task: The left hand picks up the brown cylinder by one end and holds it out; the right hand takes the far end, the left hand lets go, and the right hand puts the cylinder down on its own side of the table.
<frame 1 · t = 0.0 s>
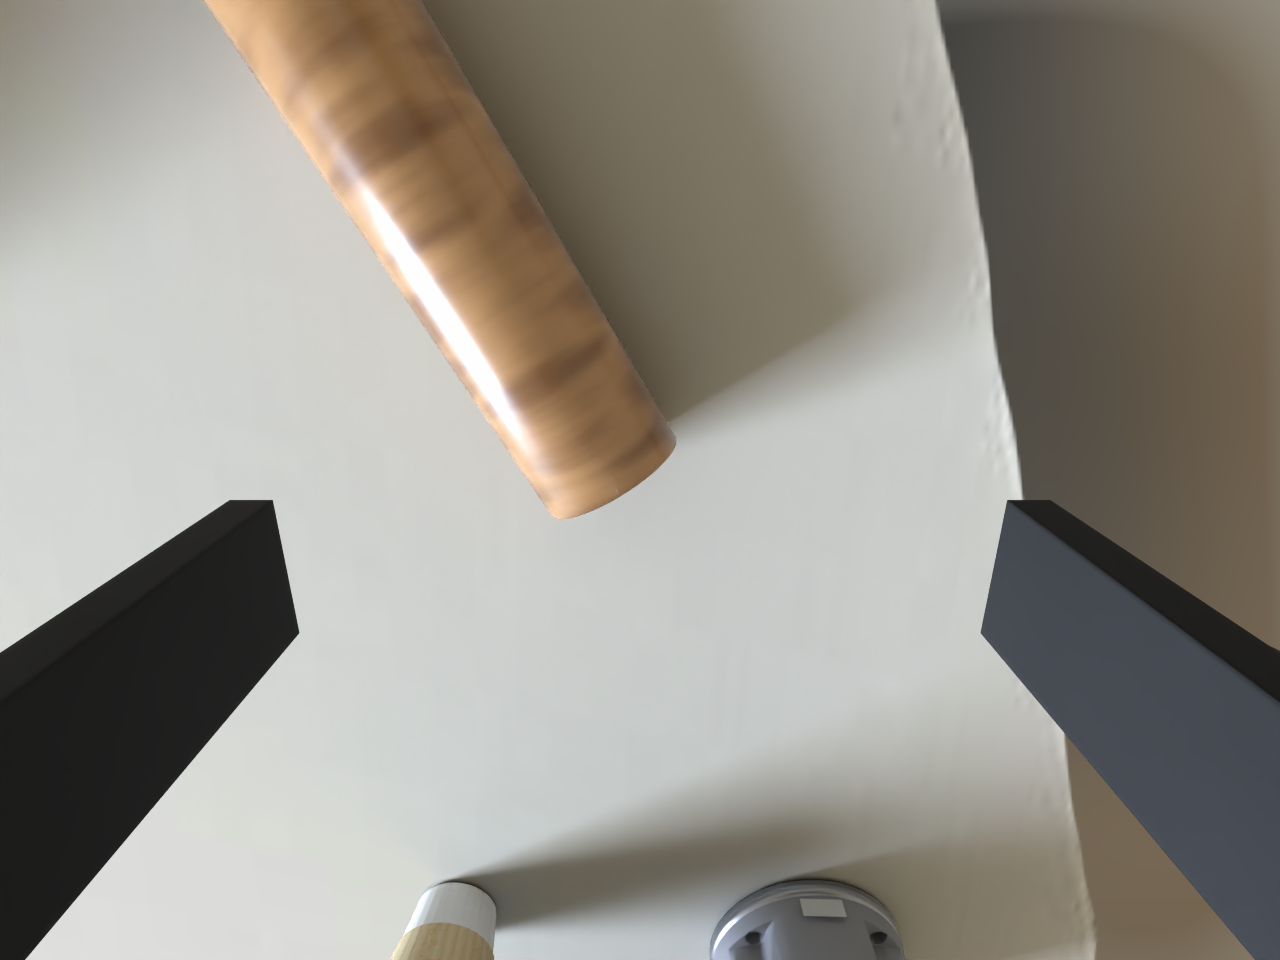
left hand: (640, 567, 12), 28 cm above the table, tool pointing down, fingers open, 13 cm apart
brown cylinder: (483, 239, 37), on the table
coffee cup: (458, 908, 54), on the table
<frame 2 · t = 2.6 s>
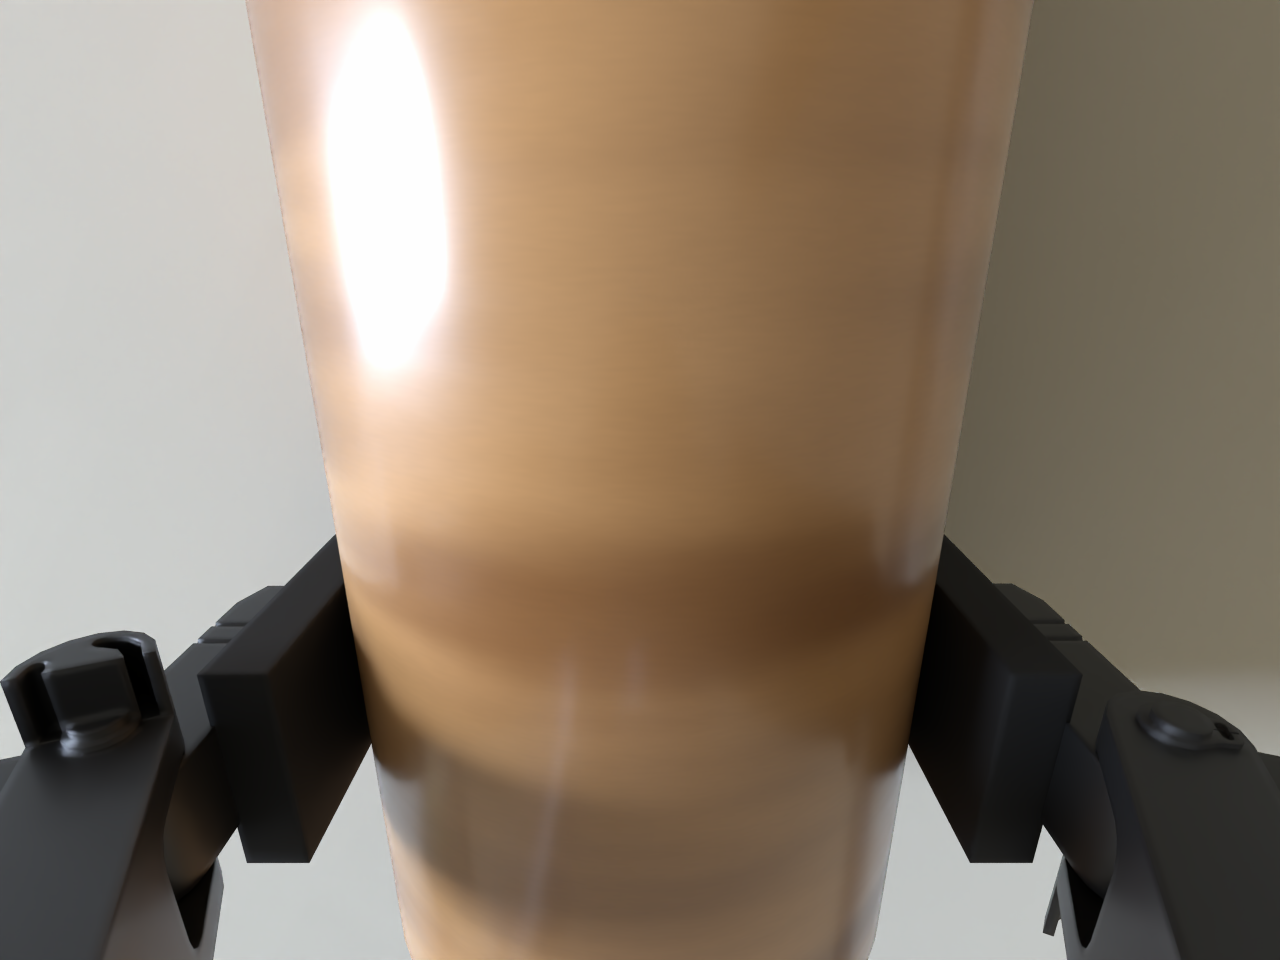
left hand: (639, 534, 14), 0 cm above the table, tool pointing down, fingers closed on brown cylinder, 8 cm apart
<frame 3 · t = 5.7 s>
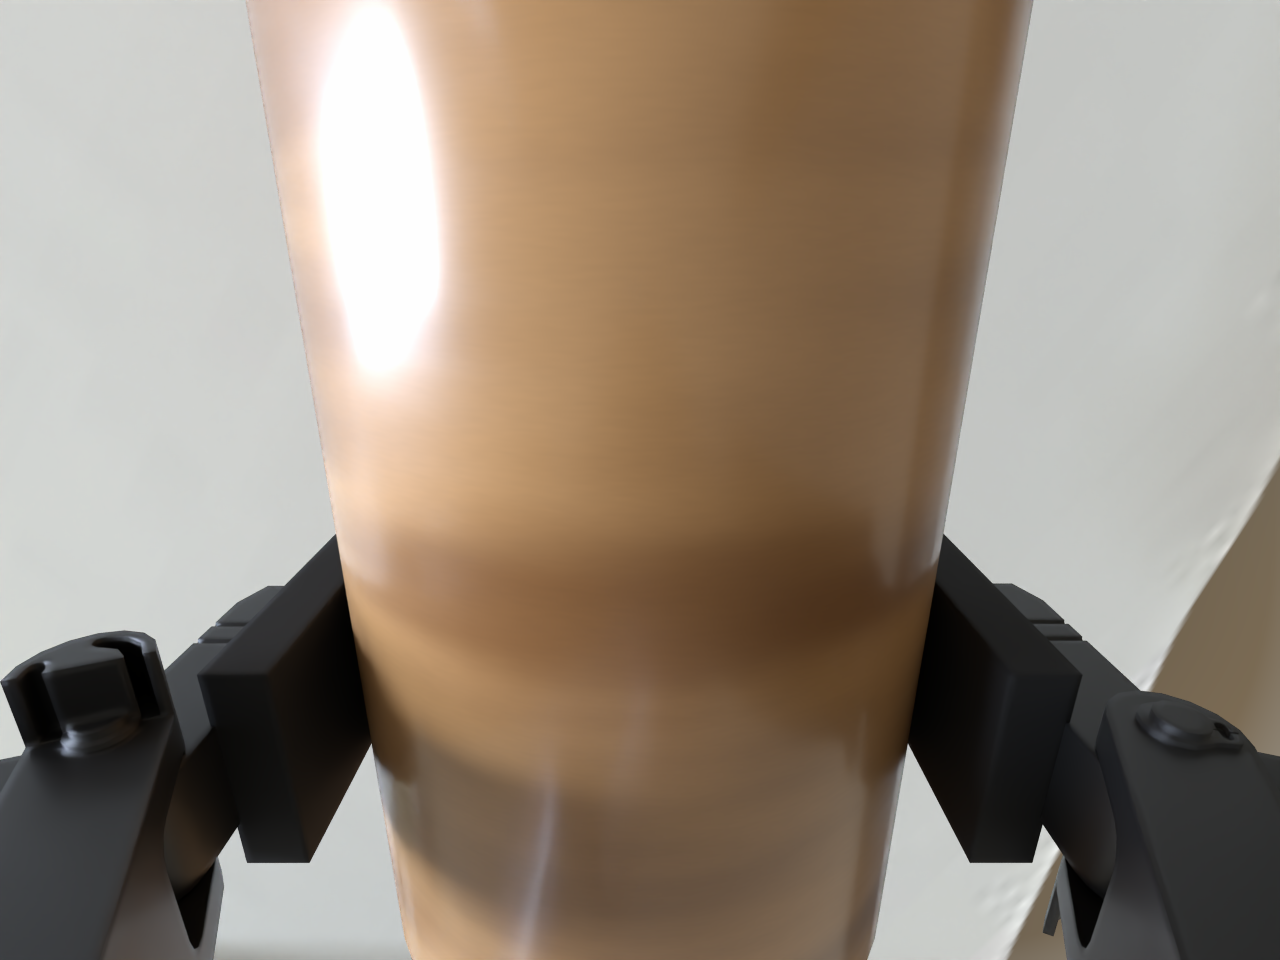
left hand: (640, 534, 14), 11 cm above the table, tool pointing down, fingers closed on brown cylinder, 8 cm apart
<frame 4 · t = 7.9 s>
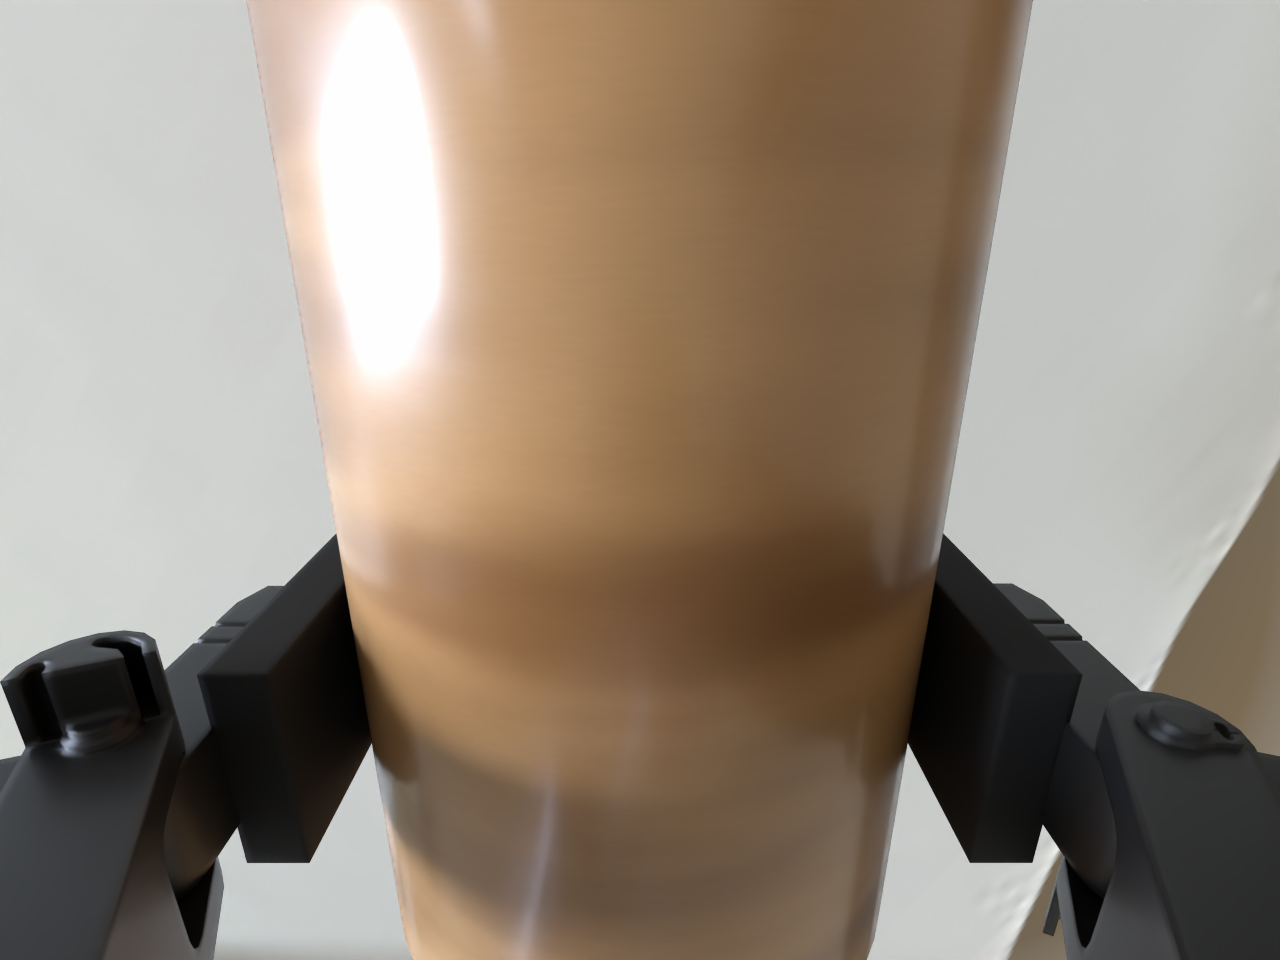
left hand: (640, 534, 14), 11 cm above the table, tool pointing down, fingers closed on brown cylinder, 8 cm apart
when the left hand's fingers open (11 cm above the table, at t = 8.8 s): brown cylinder stays where it is, held by the right hand.
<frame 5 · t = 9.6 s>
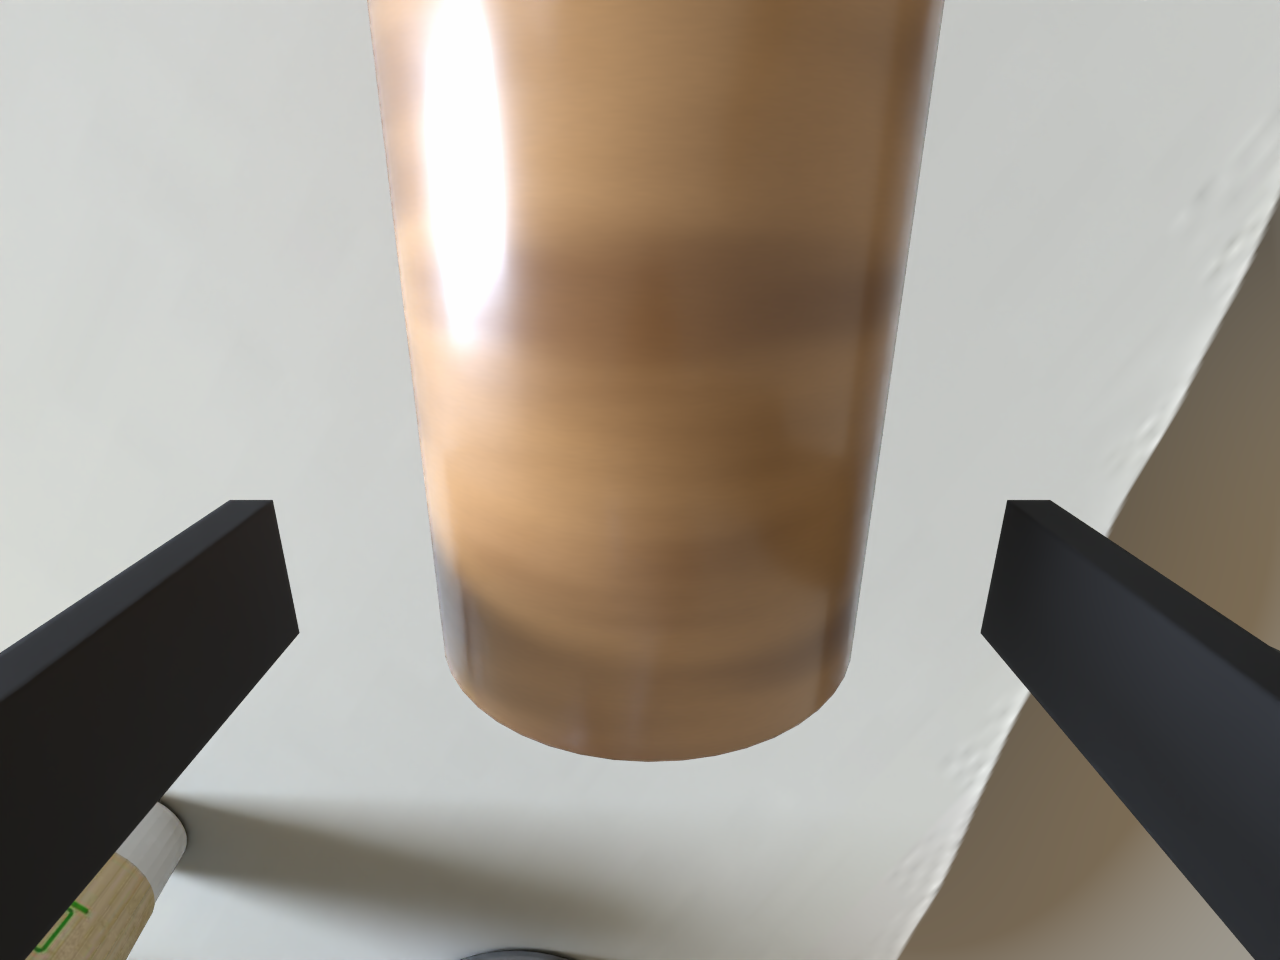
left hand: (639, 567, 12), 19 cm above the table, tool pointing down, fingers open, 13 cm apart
coffee cup: (135, 828, 40), on the table
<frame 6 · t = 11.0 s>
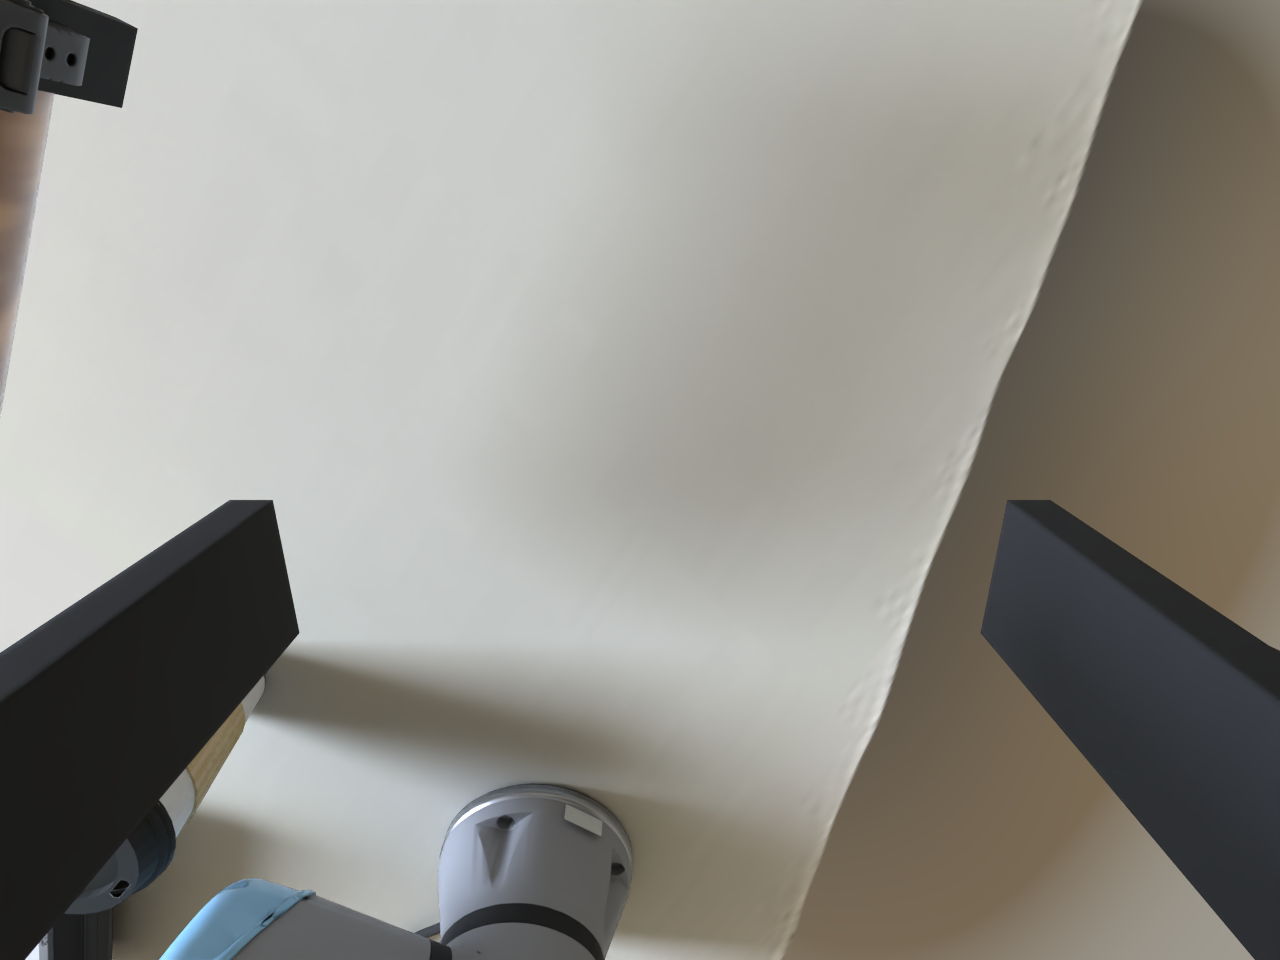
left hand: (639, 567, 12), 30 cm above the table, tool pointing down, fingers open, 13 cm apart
coffee cup: (223, 674, 50), on the table
when the right hand's fingers open (2 cm above the table, at t = 14.6 s): brown cylinder drops 1 cm, on the table.
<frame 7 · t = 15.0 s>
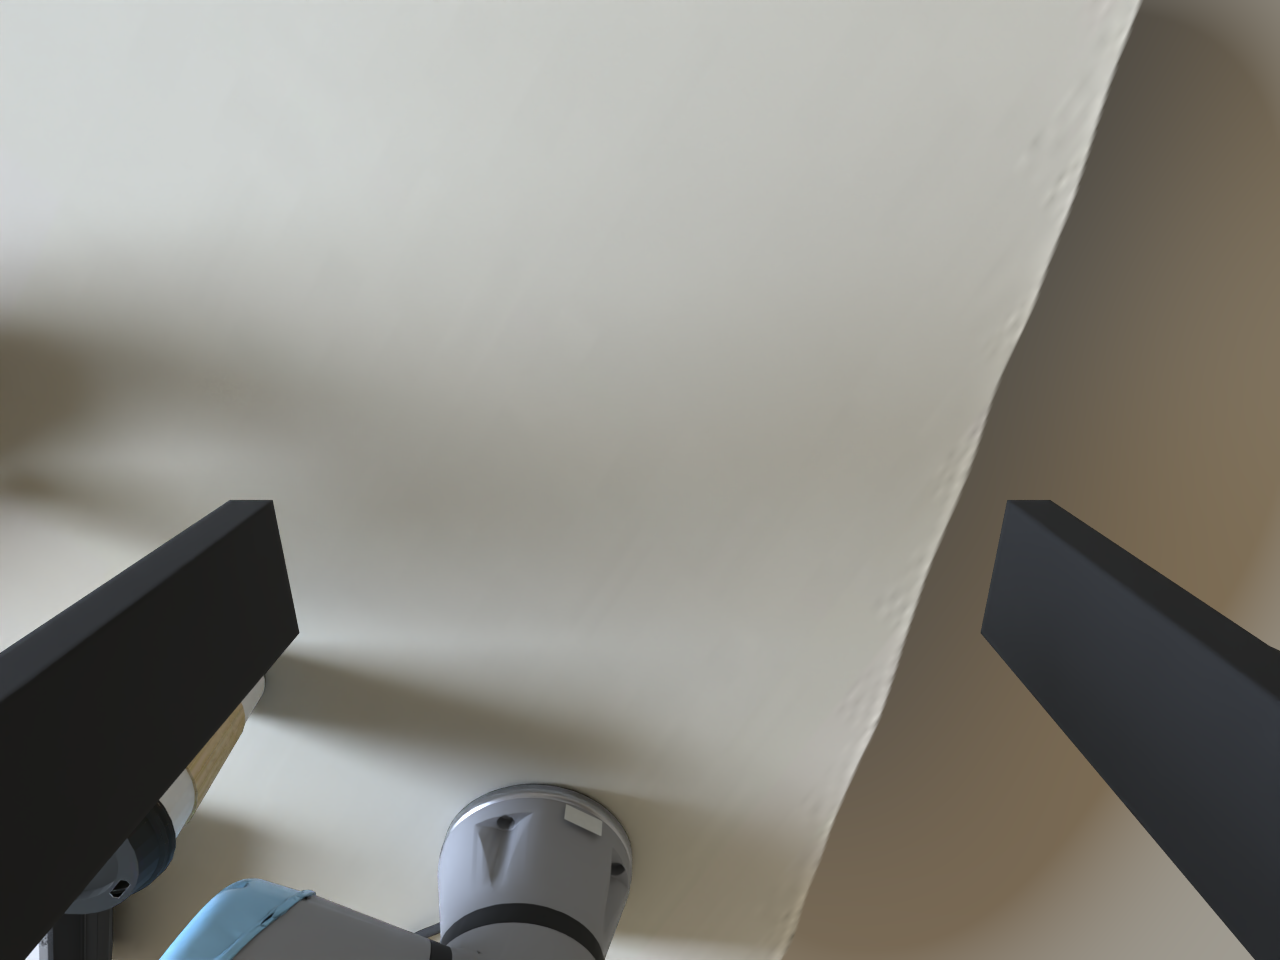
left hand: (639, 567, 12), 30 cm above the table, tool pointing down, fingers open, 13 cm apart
coffee cup: (223, 674, 50), on the table
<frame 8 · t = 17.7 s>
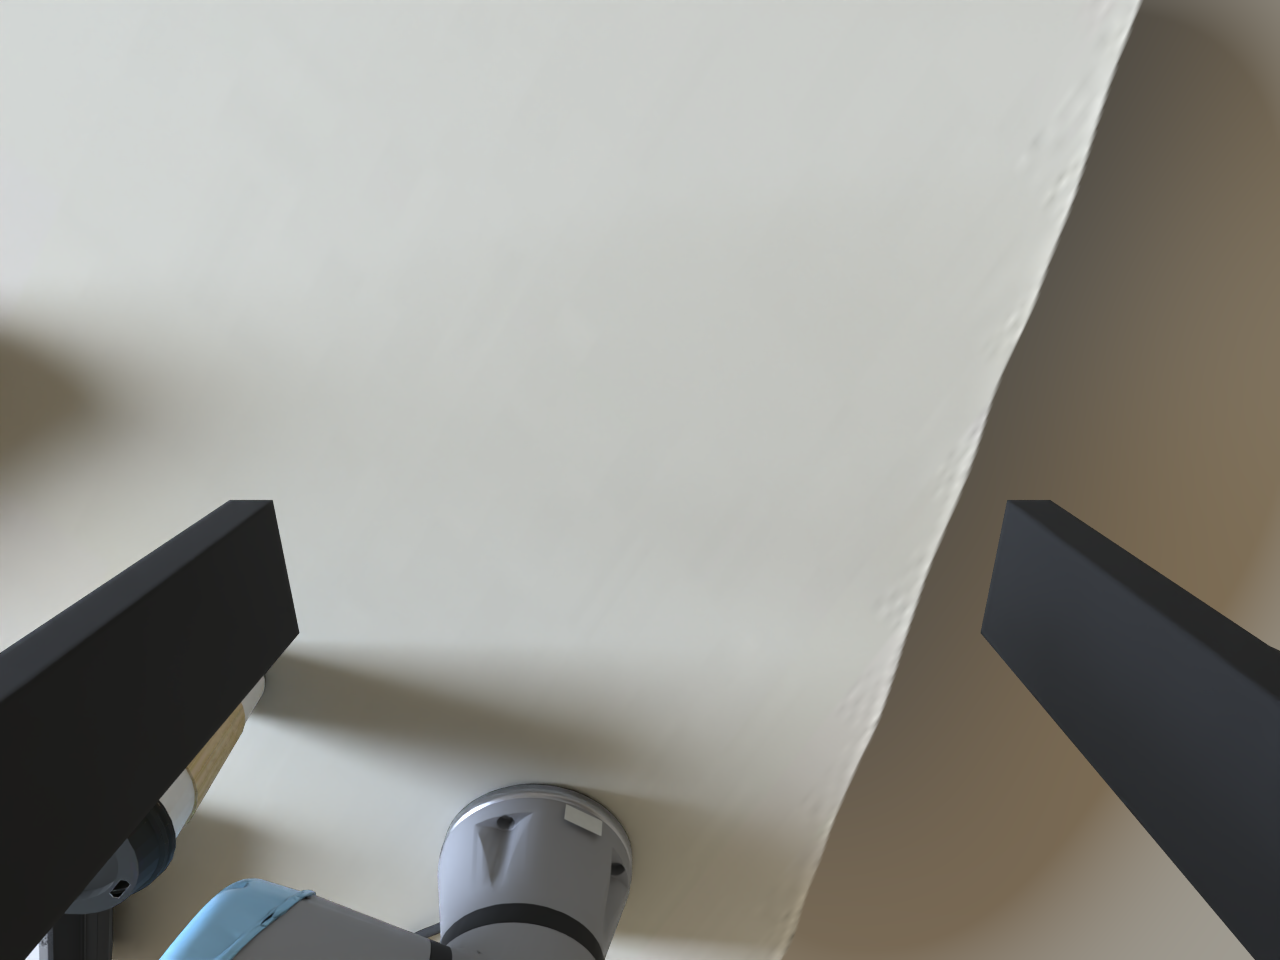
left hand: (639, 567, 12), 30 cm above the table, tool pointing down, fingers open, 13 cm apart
coffee cup: (223, 674, 50), on the table
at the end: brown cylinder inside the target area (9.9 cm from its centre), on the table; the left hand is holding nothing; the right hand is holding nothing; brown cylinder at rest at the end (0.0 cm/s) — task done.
